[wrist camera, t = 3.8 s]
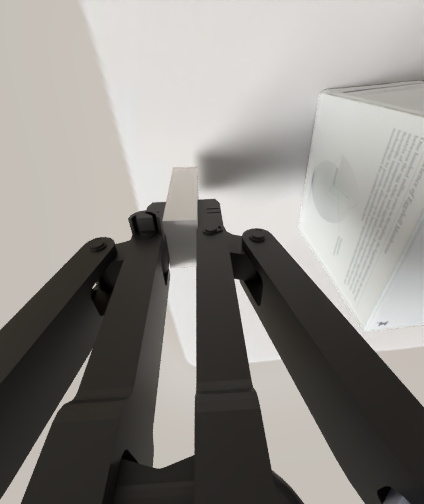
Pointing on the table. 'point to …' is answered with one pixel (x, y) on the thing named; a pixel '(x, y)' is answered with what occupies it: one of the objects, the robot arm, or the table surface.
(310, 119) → the table surface
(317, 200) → the skincare box
